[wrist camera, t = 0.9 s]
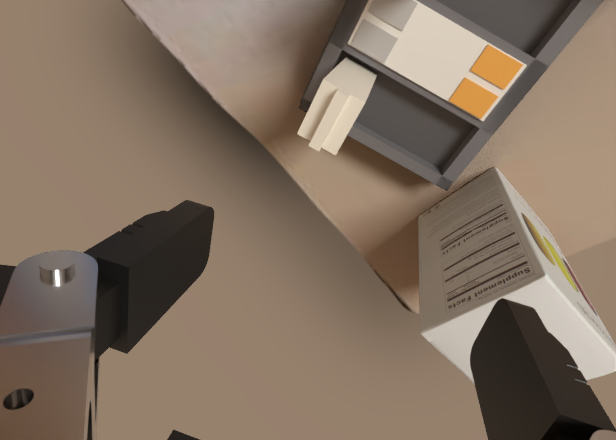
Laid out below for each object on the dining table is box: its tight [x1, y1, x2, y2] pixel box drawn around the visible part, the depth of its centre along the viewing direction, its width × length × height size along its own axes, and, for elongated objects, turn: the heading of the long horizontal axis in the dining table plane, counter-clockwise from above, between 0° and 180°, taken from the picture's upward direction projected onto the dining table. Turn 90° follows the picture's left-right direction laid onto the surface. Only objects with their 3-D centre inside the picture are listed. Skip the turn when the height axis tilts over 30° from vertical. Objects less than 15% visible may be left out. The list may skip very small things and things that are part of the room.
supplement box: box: [418, 167, 616, 384], centre depth 32 cm, size 10×9×17 cm
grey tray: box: [299, 0, 603, 191], centre depth 30 cm, size 16×18×4 cm
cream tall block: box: [297, 57, 377, 155], centre depth 28 cm, size 3×4×11 cm
